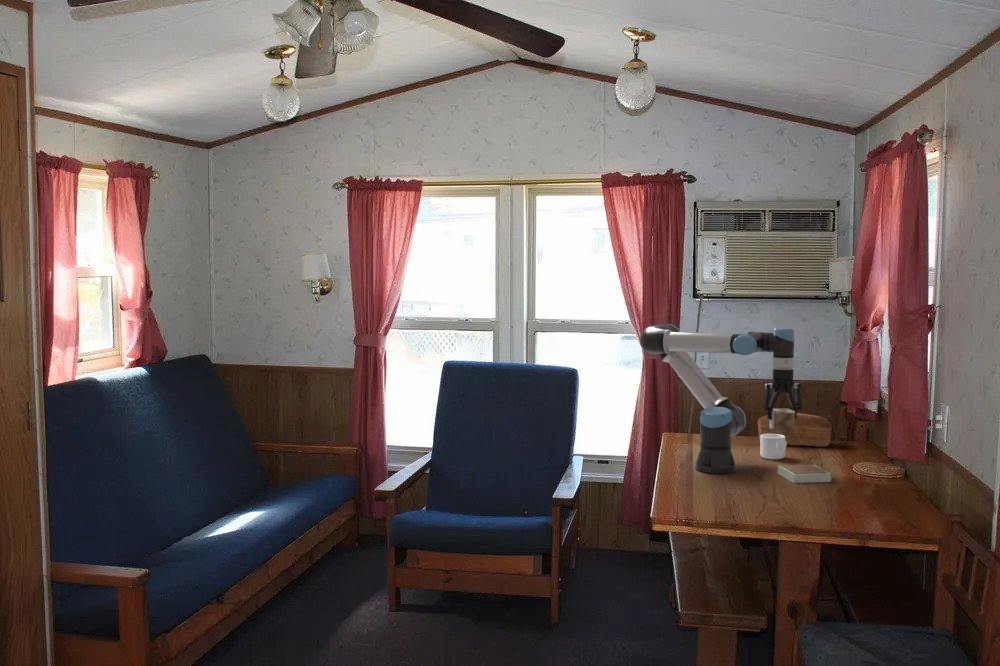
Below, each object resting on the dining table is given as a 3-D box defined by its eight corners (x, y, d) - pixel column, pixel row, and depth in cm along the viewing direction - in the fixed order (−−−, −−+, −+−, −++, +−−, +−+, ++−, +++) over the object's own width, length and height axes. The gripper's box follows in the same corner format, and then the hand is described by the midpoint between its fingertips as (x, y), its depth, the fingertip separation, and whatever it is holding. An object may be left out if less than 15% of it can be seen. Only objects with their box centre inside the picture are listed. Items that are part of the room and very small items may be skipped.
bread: (757, 439, 385) (758, 409, 384) (830, 443, 375) (831, 413, 374) (756, 444, 374) (757, 414, 373) (832, 448, 364) (832, 417, 363)
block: (776, 432, 322) (776, 411, 322) (768, 429, 329) (769, 408, 329) (794, 432, 323) (795, 411, 322) (786, 428, 330) (787, 408, 329)
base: (793, 482, 307) (793, 473, 307) (777, 473, 321) (777, 464, 320) (830, 481, 308) (831, 472, 308) (813, 472, 322) (813, 463, 322)
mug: (791, 461, 340) (792, 439, 340) (766, 461, 340) (766, 439, 340) (781, 455, 352) (782, 433, 352) (757, 455, 352) (757, 433, 352)
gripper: (761, 369, 320) (760, 430, 321) (812, 369, 321) (811, 429, 323) (753, 367, 327) (752, 426, 329) (804, 366, 329) (802, 425, 330)
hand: (781, 427), depth 326 cm, fingers closed on block, 7 cm apart
